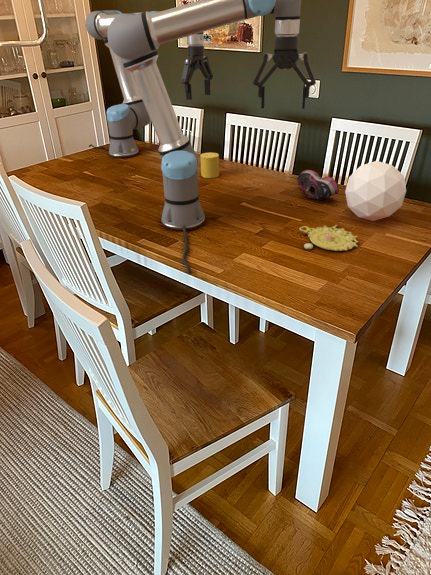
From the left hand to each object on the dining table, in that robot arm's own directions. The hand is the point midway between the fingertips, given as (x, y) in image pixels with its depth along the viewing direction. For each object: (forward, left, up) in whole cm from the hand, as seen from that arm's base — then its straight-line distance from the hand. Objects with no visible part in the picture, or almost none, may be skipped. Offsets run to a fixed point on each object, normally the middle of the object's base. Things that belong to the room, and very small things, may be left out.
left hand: (198, 97), depth 207 cm
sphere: (+98, -21, -28) cm, 104 cm away
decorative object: (+94, -45, -28) cm, 108 cm away
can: (+22, -18, -28) cm, 40 cm away
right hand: (+65, -29, +6) cm, 71 cm away
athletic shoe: (+71, -15, -28) cm, 78 cm away
